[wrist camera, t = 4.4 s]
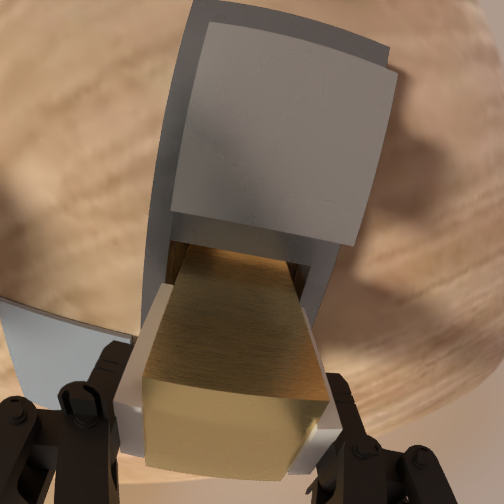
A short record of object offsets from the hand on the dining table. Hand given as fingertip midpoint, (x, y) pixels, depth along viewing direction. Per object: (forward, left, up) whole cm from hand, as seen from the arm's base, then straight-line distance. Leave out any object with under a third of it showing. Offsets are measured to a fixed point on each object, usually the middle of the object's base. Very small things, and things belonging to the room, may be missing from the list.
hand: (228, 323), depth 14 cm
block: (-8, 0, -3) cm, 8 cm away
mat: (+9, -10, -3) cm, 14 cm away
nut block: (0, 0, -3) cm, 3 cm away
